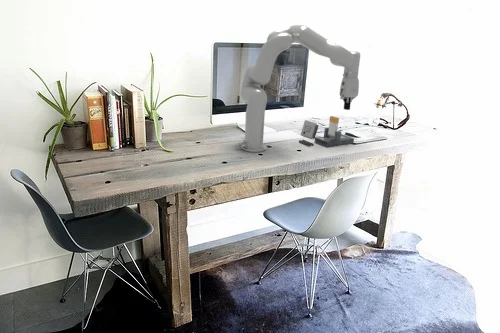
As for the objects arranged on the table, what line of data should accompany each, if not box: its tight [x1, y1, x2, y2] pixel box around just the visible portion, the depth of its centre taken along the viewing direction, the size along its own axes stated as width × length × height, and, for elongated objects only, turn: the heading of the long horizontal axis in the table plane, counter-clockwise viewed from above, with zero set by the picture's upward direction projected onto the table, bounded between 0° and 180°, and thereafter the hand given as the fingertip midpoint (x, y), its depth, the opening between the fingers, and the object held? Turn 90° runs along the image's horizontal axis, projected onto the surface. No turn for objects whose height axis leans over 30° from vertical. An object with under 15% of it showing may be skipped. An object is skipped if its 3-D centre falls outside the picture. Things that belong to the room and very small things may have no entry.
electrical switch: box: [300, 119, 320, 139], centre depth 225 cm, size 9×5×9 cm, turn 35°
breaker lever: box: [327, 115, 340, 139], centre depth 211 cm, size 2×6×12 cm, turn 32°
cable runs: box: [298, 139, 315, 147], centre depth 211 cm, size 4×9×1 cm, turn 32°
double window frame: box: [313, 126, 355, 149], centre depth 214 cm, size 20×10×8 cm, turn 122°
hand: (346, 109), depth 212 cm, fingers closed
